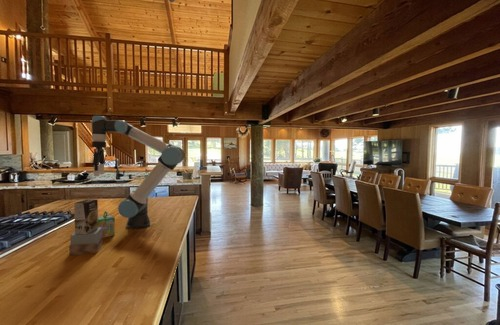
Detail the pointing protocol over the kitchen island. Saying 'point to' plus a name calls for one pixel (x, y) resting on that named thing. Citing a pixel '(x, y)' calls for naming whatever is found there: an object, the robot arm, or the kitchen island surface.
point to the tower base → (85, 248)
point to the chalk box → (107, 224)
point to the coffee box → (86, 216)
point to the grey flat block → (86, 237)
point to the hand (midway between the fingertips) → (99, 175)
